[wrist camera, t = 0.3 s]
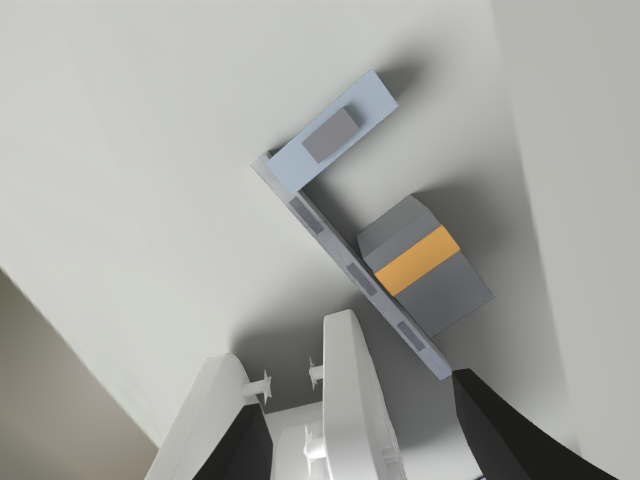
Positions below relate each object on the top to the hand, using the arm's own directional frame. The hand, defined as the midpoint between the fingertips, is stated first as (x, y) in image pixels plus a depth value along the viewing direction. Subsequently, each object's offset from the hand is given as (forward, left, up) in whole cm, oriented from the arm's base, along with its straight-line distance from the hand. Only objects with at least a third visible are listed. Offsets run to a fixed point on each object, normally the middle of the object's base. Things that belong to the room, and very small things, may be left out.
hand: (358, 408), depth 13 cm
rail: (0, -2, -10) cm, 10 cm away
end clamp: (+8, -5, -10) cm, 14 cm away
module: (-1, -5, -10) cm, 11 cm away
